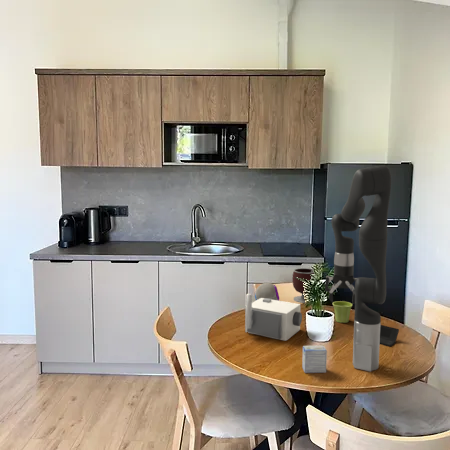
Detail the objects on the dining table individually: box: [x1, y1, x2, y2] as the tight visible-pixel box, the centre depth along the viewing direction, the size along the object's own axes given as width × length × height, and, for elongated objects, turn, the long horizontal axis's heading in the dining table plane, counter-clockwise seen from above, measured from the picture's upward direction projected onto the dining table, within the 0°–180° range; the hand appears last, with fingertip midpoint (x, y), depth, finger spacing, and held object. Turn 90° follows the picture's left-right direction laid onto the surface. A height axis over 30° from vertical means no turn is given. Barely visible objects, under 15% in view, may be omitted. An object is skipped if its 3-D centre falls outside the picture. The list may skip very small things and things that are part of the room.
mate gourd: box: [292, 267, 314, 304], centre depth 245 cm, size 16×14×20 cm
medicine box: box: [301, 345, 328, 374], centre depth 157 cm, size 8×4×9 cm, turn 92°
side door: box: [245, 293, 282, 340], centre depth 187 cm, size 5×16×18 cm, turn 59°
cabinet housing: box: [244, 298, 303, 342], centre depth 196 cm, size 16×22×13 cm
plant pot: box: [332, 300, 353, 324], centre depth 210 cm, size 9×9×9 cm
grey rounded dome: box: [254, 282, 280, 301], centre depth 225 cm, size 13×13×15 cm
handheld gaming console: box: [380, 324, 400, 348], centre depth 186 cm, size 12×7×10 cm
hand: (342, 302), depth 175 cm, fingers open, 8 cm apart
